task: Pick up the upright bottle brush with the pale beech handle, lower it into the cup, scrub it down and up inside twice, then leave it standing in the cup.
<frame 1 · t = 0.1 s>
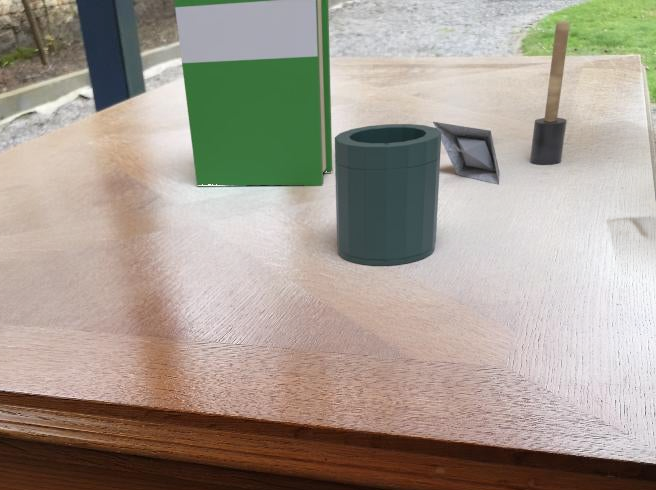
brush: (545, 161, 106), on the table
cup: (385, 249, 81), on the table
hardback book: (265, 180, 109), on the table
paper boat: (464, 177, 103), on the table
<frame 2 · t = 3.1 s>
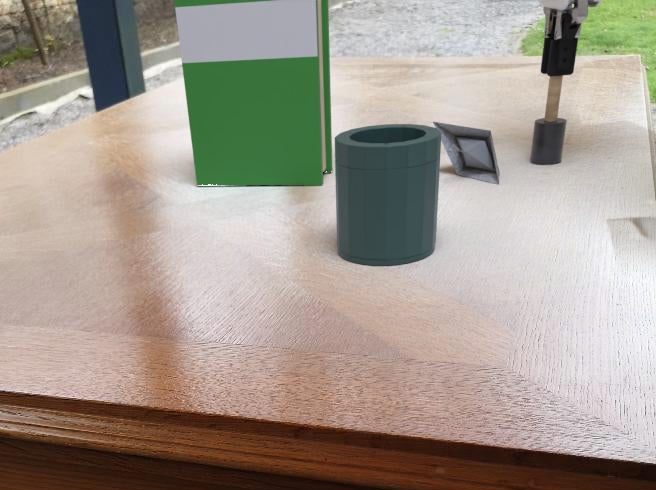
hand: (556, 72, 99), 11 cm above the table, tool pointing down, fingers closed on brush
brush: (545, 161, 106), on the table, touching gripper
everything else where it was.
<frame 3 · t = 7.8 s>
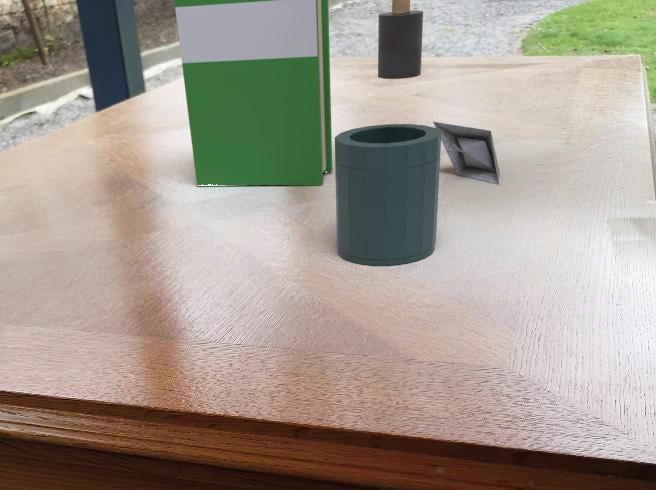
brush: (399, 75, 74), point 16 cm above the table, touching gripper
everything else where it was.
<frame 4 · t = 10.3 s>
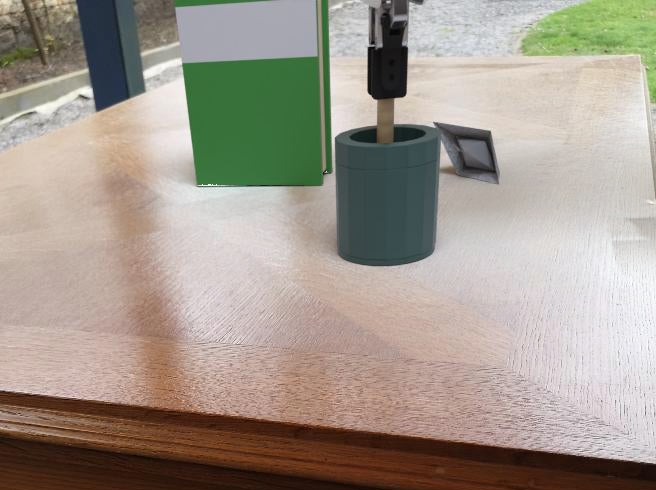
hand: (386, 94, 73), 14 cm above the table, tool pointing down, fingers closed on brush
brush: (383, 210, 79), point 4 cm above the table, touching gripper
everything else where it was.
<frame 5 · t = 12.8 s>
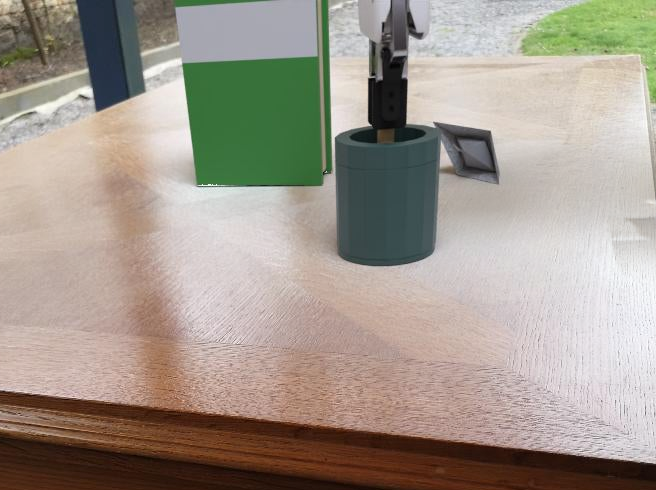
hand: (386, 124, 74), 12 cm above the table, tool pointing down, fingers closed on brush
brush: (384, 236, 81), point 1 cm above the table, touching gripper
everything else where it was.
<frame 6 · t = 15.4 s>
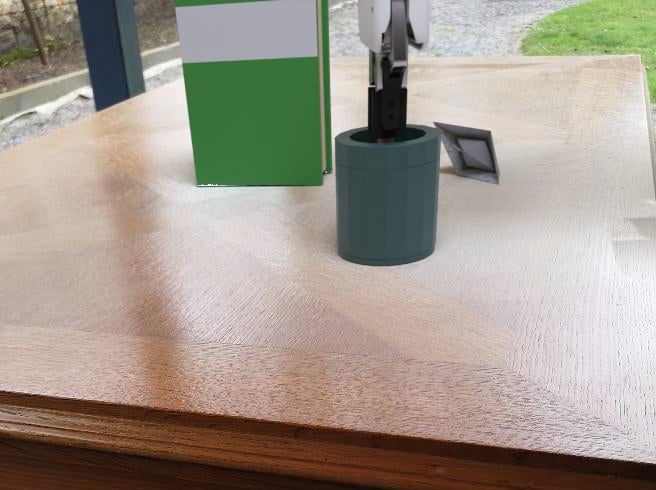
hand: (386, 133, 75), 11 cm above the table, tool pointing down, fingers closed on brush
brush: (384, 243, 81), point 1 cm above the table, touching cup, gripper
everything else where it was.
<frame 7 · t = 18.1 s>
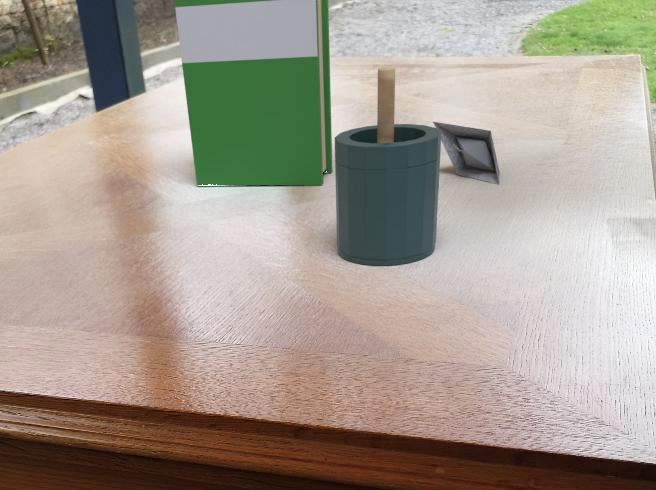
brush: (384, 243, 81), point 1 cm above the table, touching cup
everything else where it was.
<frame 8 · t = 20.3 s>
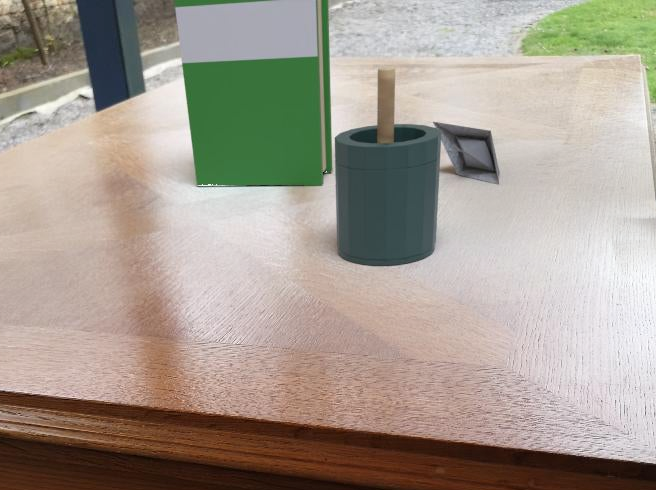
nothing on the table moved.
at the end: brush 0.2 cm off-centre in the cup, point 0.6 cm above the cup's base; the gripper is holding nothing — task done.
